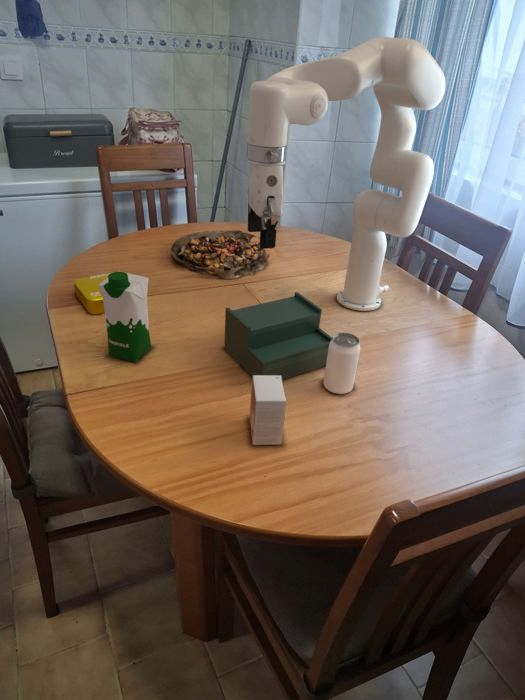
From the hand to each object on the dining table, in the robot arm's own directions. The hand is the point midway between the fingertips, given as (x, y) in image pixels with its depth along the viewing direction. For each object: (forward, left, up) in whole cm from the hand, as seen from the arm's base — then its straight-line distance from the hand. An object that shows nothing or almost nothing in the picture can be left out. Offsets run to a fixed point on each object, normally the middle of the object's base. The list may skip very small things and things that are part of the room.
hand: (260, 239), depth 107 cm
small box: (+13, +26, -28) cm, 40 cm away
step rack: (-4, +5, -28) cm, 28 cm away
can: (-9, +21, -28) cm, 36 cm away
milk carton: (+26, -12, -28) cm, 40 cm away
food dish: (-20, -54, -28) cm, 64 cm away
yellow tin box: (+22, -40, -28) cm, 54 cm away
